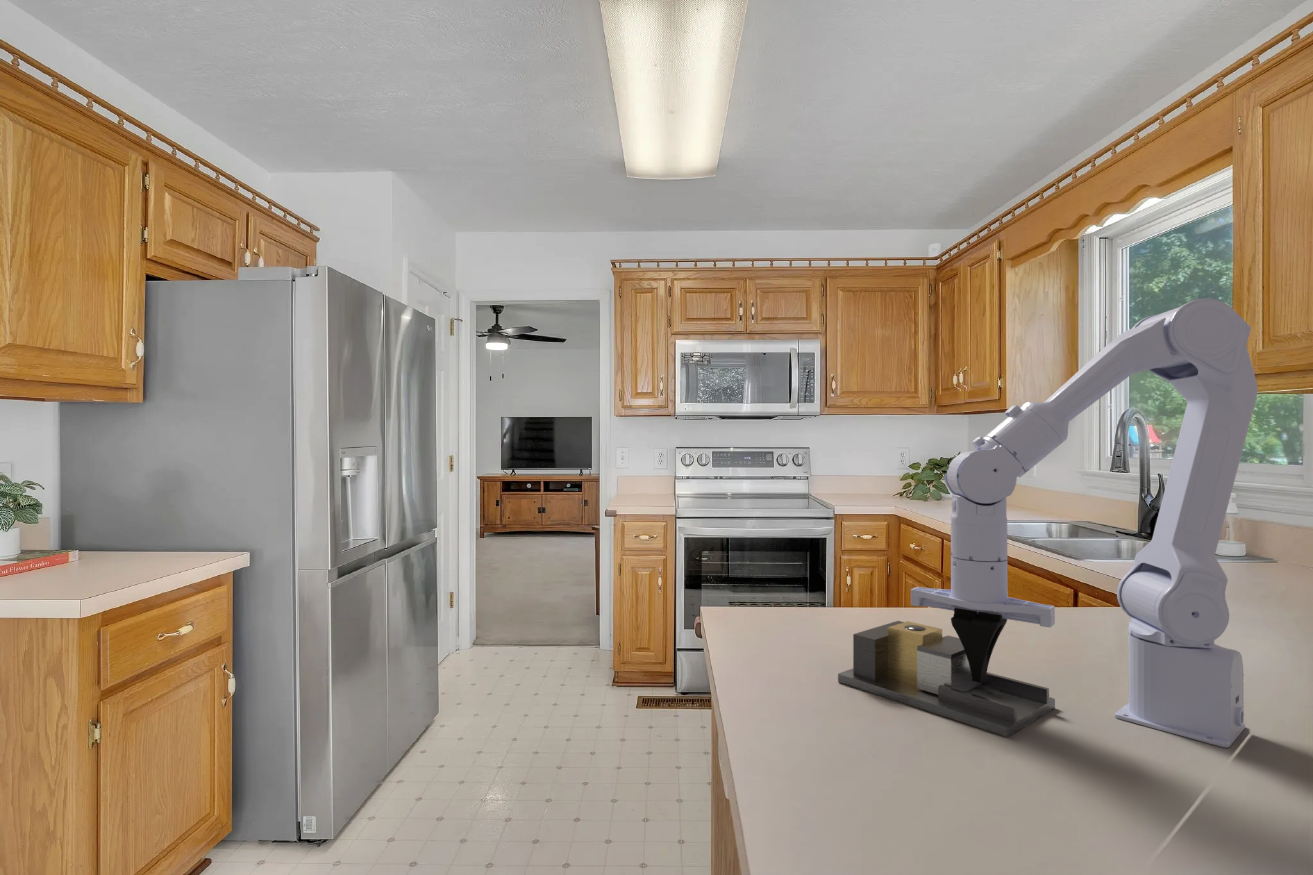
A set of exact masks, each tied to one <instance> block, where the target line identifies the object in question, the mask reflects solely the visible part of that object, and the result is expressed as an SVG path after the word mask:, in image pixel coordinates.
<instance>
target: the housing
mask: <svg viewBox="0 0 1313 875" xmlns="http://www.w3.org/2000/svg"><path fill="white" fill-rule="evenodd" d="M903 622H904V623H900V624H897V625H894V626H891V627H888V677H889V678H893V679H896V680H899V681H903V682H906V683H909V684H913V685H916V686H917V646H919V645H922V644H925V643H928V642H931V641H933V640H936V639H939V638H942V637H943V628H939V627H935V626H932V625H926V624H921V623H916V622H913V621H903Z"/></svg>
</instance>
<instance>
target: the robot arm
mask: <svg viewBox="0 0 1313 875" xmlns="http://www.w3.org/2000/svg"><path fill="white" fill-rule="evenodd" d="M1251 329H1252V328H1251V326H1250V325H1249V323H1248V322H1247V321H1245V319H1244V318H1242V317H1241V316H1240V315H1239V313H1237V312H1236V311H1235V310H1234V309H1233V307H1231V306H1230V305H1228V303H1225V302H1224V301H1221V300H1218V299H1215V298H1198V299H1195V300H1194V299H1193V300H1191V301H1189V302H1186V303H1185V304H1182V305H1181V306H1179V307H1176V308H1173V309H1169V310H1167V311H1164V312H1161V313H1159V314H1153V315H1149V316H1146V317H1144V318H1142V319H1141V320H1139V321H1138V322H1137V323H1135V324H1134V326H1133V327H1132V328H1130V329H1127V330H1126V331H1124V332H1122V333H1120V334H1118V336H1116V337H1115V338H1114V339H1113V340H1112V341H1110V342H1109V343H1108V344H1107V345H1105V346H1104V347H1103V348H1102V349H1101V350H1100V351H1099V352H1098V353H1096V354H1095V356H1093V358H1091V359H1090V360H1089V361H1088V362H1087V363H1086V364H1085V365H1083V367H1081V368H1080V369H1079V370H1078V371H1077V372H1076V373H1075V374H1074V375H1072V376H1071V377H1070V378H1069V379H1067V381H1066V382H1064V384H1063V385H1061V386H1060V387H1059V388H1058V389H1057V390H1056V391H1055V392H1054V393H1053V394H1051V395H1050V396H1049V397H1048V398H1047V399H1046V400H1045V401H1043V402H1042V401H1041V402H1040V401H1026V402H1024V403H1023V404H1021V405H1018V404H1017V405H1012V406H1010V407H1009V408H1007V410H1006V411H1005V412H1004V414H1005V416H1006V418H1005V419H1004V420H1003V421H1001V422H1000V423H999V424H998V425H997V426H995V427H994V428H993V429H992V430H991V431H990V432H988V433H987V434H986V435H985V436H984V437H982V436H977V437H976V438H975V439H974V440H972V441H971V444H972V445H973V446H974V449H975V450H970V451H969V450H968V451H964V452H962V453H960V454H958V455H956V456H955V457H954V458H953V459H952V460H951V461H950V463H949V465H948V469H947V470H946V473H945V474H944V476H943V477H944V482H945V484H946V487H947V489H948V490H949V491H950V493H951V515H950V589H946V588H945V589H943V588H931V587H920V586H916V587H913V588H911V589H910V606H914V607H929V608H933V609H939V610H940V609H941V610H947V611H952V612H953V616H952V617H951V618H950V624H951V626H952V628H953V629H954V631H955V633H956V634H957V636H958V637H957V638H959V639H960V641H961V643H962V645H963V648H964V650H965V653H966V656H967V659H968V662H969V666H970V670H971V675H972V681H975V682H979V683H982V682H983V681H984V680H985V679H986V674H987V672H988V668H989V664H990V661H991V660H990V659H991V657H992V656H991V655H992V653H993V651H994V648H995V646H996V644H997V641H998V639H999V637H1000V636H1001V633H1002V632H1003V629H1004V628H1005V626H1006V624H1007V622H1008V621H1009V620H1010V621H1016V622H1022V623H1023V622H1024V623H1028V624H1034V625H1035V624H1036V625H1039V626H1040V627H1045V628H1052V627H1054V625H1055V623H1056V622H1055V621H1056V620H1055V618H1056V616H1055V611H1056V610H1055V607H1056V606H1055V605H1051V604H1043V603H1038V602H1033V601H1029V600H1024V599H1020V598H1015V597H1009V596H1008V590H1009V589H1008V518H1007V497H1010V496H1011V495H1012V494H1013V492H1014V490H1015V488H1016V486H1017V478H1022V477H1023V476H1024V475H1025V474H1026V473H1027V472H1029V471H1030V470H1031V469H1032V468H1034V467H1035V466H1036V465H1037V464H1039V463H1040V462H1041V461H1042V460H1043V459H1045V458H1046V457H1047V456H1049V455H1050V454H1051V453H1052V452H1053V451H1054V450H1056V449H1057V448H1058V447H1060V446H1061V444H1063V443H1064V442H1066V441H1067V439H1068V436H1069V435H1068V434H1069V424H1070V422H1071V421H1072V420H1073V419H1074V418H1076V417H1077V416H1078V415H1080V414H1081V413H1082V412H1084V411H1086V409H1088V408H1089V407H1091V406H1092V405H1093V404H1095V403H1096V402H1098V401H1099V399H1101V398H1103V397H1104V396H1105V395H1106V394H1108V393H1110V391H1112V390H1113V389H1114V388H1116V386H1118V385H1120V384H1121V383H1122V382H1123V381H1125V380H1126V379H1128V378H1129V377H1130V376H1132V375H1133V374H1137V373H1138V374H1139V373H1141V372H1145V371H1149V372H1150V373H1152V374H1153V375H1155V376H1157V377H1159V378H1160V379H1161V380H1162V379H1163V380H1164V381H1165V382H1168V383H1169V384H1171V385H1172V386H1173V388H1175V390H1176V391H1177V392H1178V393H1179V394H1180V395H1181V397H1183V398H1184V399H1185V401H1186V406H1185V411H1184V414H1183V419H1182V422H1181V427H1180V430H1179V434H1178V437H1177V442H1176V445H1175V448H1174V454H1173V456H1172V461H1171V465H1170V469H1169V472H1168V477H1167V480H1166V484H1165V487H1164V488H1165V489H1164V491H1163V495H1162V499H1161V504H1160V507H1159V511H1158V514H1157V515H1158V516H1157V519H1156V523H1155V526H1154V529H1153V530H1154V531H1153V534H1152V539H1151V540H1150V542H1148V543H1147V544H1146V545H1145V546H1144V547H1142V549H1140V550H1139V551H1138V552H1137V553H1136V554H1135V557H1134V560H1133V564H1132V565H1131V568H1130V569H1129V571H1128V572H1126V573H1125V575H1124V576H1123V577H1122V578H1121V579H1120V581H1119V583H1118V586H1117V588H1116V589H1117V590H1116V598H1117V601H1118V604H1119V606H1120V608H1121V610H1122V611H1123V612H1124V613H1125V614H1126V615H1127V616H1129V617H1128V618H1129V624H1128V625H1127V626H1128V627H1127V632H1128V635H1127V636H1128V638H1127V640H1128V641H1127V642H1128V643H1127V644H1128V647H1127V648H1128V650H1127V651H1128V652H1127V653H1128V657H1127V658H1128V660H1127V662H1128V664H1127V665H1128V668H1127V669H1128V703H1126V704H1125V705H1124V706H1123V707H1121V708H1120V709H1118V710H1117V711H1116V712H1114V717H1115V718H1117V719H1118V720H1121V721H1125V722H1129V723H1134V724H1137V725H1140V726H1145V727H1147V728H1151V729H1155V730H1158V731H1162V732H1166V733H1170V734H1174V735H1177V736H1181V737H1184V738H1189V739H1191V740H1195V741H1199V742H1203V743H1206V744H1210V745H1213V746H1216V747H1217V746H1218V747H1221V748H1229V747H1231V746H1232V744H1233V743H1234V742H1235V740H1236V739H1237V738H1238V737H1239V736H1240V735H1241V733H1242V732H1243V731H1244V730H1245V729H1246V723H1245V720H1244V719H1245V712H1244V711H1245V710H1244V708H1245V706H1244V704H1245V703H1244V699H1245V697H1244V691H1245V690H1244V685H1245V684H1244V662H1243V656H1242V653H1241V652H1240V651H1238V650H1235V649H1231V648H1226V647H1222V646H1221V645H1218V644H1216V643H1215V640H1217V639H1218V638H1220V637H1221V636H1222V635H1223V633H1224V632H1225V631H1226V629H1227V627H1228V625H1229V621H1230V610H1229V607H1228V604H1227V599H1226V591H1227V590H1226V589H1227V584H1228V580H1229V579H1228V577H1227V575H1226V573H1225V571H1224V570H1223V568H1222V566H1221V564H1220V563H1219V561H1218V560H1217V557H1216V553H1217V549H1218V545H1219V541H1220V537H1221V533H1222V530H1223V525H1224V523H1225V518H1226V515H1227V510H1228V507H1229V503H1230V499H1231V495H1232V491H1233V487H1234V484H1235V481H1236V477H1237V473H1238V469H1239V466H1240V465H1239V464H1240V462H1241V457H1242V453H1243V449H1244V446H1245V443H1246V438H1247V435H1248V432H1249V428H1250V424H1251V420H1252V416H1253V411H1254V407H1255V404H1256V400H1257V397H1258V389H1259V388H1258V383H1257V378H1256V374H1255V371H1254V368H1253V365H1252V361H1251V356H1250V352H1249V350H1248V347H1247V346H1248V345H1247V344H1248V342H1249V337H1250V335H1251V334H1250V333H1251Z"/></svg>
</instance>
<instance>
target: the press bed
mask: <svg viewBox="0 0 1313 875" xmlns="http://www.w3.org/2000/svg"><path fill="white" fill-rule="evenodd" d="M904 622H905V621H901V620H897V621H896V620H895V621H892V622H889V623H887V624H882V625H879V626H876V627H873V628H870V629H866V630H863V631H859V632H856V633H853V636H852V638H853V642H852V643H853V645H852V646H853V648H852V649H853V650H852V652H853V653H852V658H853V659H852V660H853V666H852V667H853V668H850V669H847V670H845V671H842V672H839V673H838V674H837V682H838V683H841V684H843V685H847V686H850V687H852V688H854V689H859V690H861V691H862V690H863V691H865V692H868V693H871V694H873V695H874V694H875V695H876V696H879V697H883V698H886V699H889V700H892V701H895V702H899V703H901V704H904V705H908V706H910V707H914V708H917V709H920V710H923V711H926V712H929V713H932V714H935V715H938V716H941V717H944V718H947V719H950V720H954V721H956V722H959V723H963V724H966V725H968V726H972V727H974V728H978V729H981V730H983V731H987V732H990V733H993V734H995V735H996V734H997V735H1000V736H1002V737H1005V738H1008V737H1010V736H1011V735H1014V734H1015V733H1017V732H1018V731H1020V730H1022V729H1023V728H1025V727H1026V726H1028V725H1030V724H1031V723H1033V722H1034V721H1036V720H1037V719H1039V718H1041V717H1043V716H1044V715H1046V714H1047V713H1049V712H1051V711H1052V710H1054V709H1055V708H1056V698H1054V697H1050V688H1049V687H1045V686H1041V685H1038V684H1035V683H1034V684H1033V683H1030V682H1026V681H1023V680H1018V679H1015V678H1011V677H1007V676H1003V675H999V674H995V673H991V672H988V671H987V674H986V679H985V680H984V681H983V682H982V683H981V684H980V685H978V686H976V687H974V688H972V689H970V690H968V691H966V692H964V691H961V690H957V689H954V688H950V687H947V686H944V685H939V686H938V694H935V693H931V692H928V691H925V690H921V689H918V688H917V686H916V685H913V684H909V683H906V682H903V681H899V680H896V679H893V678H889V677H888V627H891V626H894V625H897V624H900V623H904Z"/></svg>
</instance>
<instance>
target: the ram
mask: <svg viewBox="0 0 1313 875" xmlns="http://www.w3.org/2000/svg"><path fill="white" fill-rule="evenodd" d="M980 684H981V683H979V682H975V681H972V675H971V670H970V666H969V662H968V659H967V656H966V653H965V650H964V648H963V645H962V643H961V641H960V639H959V637H957V636H952V635H945V636H942V638H939V639H936V640H933V641H931V642H928V643H925V644H922V645H919V646H917V688H918V689H921V690H925V691H928V692H931V693H935V694H938V686H939V685H944V686H947V687H950V688H954V689H957V690H961V691H964V692H966V691H968V690H970V689H972V688H974V687H976V686H978V685H980Z"/></svg>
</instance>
